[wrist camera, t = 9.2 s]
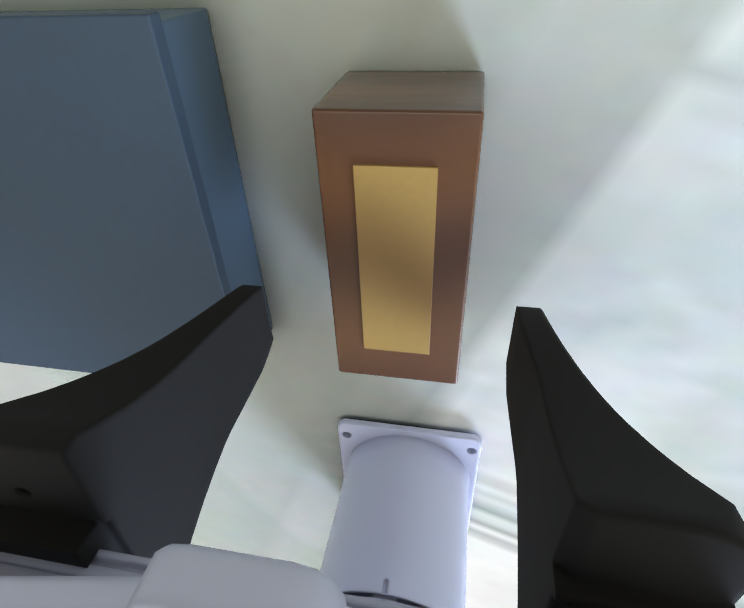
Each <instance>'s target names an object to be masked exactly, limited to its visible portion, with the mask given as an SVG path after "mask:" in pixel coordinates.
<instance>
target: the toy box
mask: <svg viewBox="0 0 744 608" xmlns="http://www.w3.org/2000/svg"><path fill="white" fill-rule="evenodd" d="M241 285H254V286H262V287H263V292H264V297H265V302H266V306H267V311H268V316H269V321H270V326H271V331H272V325H271V320H270V315H269V310H268V305H267V300H266V295H265V291H264V286H263V281H262V276H261V271H260V266H259V261H258V257H257V252H256V247H255V242H254V237H253V232H252V227H251V223H250V218H249V213H248V208H247V203H246V198H245V193H244V189H243V184H242V179H241V174H240V169H239V164H238V159H237V154H236V150H235V145H234V140H233V135H232V130H231V125H230V120H229V116H228V111H227V106H226V101H225V96H224V91H223V86H222V82H221V77H220V72H219V67H218V62H217V57H216V52H215V48H214V43H213V38H212V33H211V28H210V23H209V18H208V14H207V10H206V9H205V8H181V9H128V10H76V11H23V12H0V362H3V363H12V364H20V365H29V366H37V367H46V368H54V369H63V370H71V371H80V372H88V373H94V372H96V371H98V370H101V369H103V368H105V367H107V366H110V365H112V364H114V363H116V362H119V361H121V360H123V359H125V358H127V357H129V356H131V355H133V354H135V353H137V352H139V351H141V350H143V349H144V348H146V347H148V346H150V345H152V344H153V343H155V342H157V341H159V340H160V339H162V338H163V337H165V336H167V335H168V334H170V333H171V332H173V331H175V330H176V329H178V328H179V327H181V326H182V325H184V324H186V323H187V322H189V321H190V320H192V319H193V318H195V317H196V316H197V315H199V314H200V313H202V312H203V311H205V310H206V309H208V308H209V307H211V306H212V305H213V304H215V303H216V302H218V301H219V300H220V299H222V298H223V297H225V296H226V295H228V294H229V293H231V292H232V291H234V290H235V289H237V288H238V287H240V286H241Z"/></svg>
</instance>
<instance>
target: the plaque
mask: <svg viewBox="0 0 744 608" xmlns="http://www.w3.org/2000/svg"><path fill="white" fill-rule="evenodd" d="M312 118H313V127H314V137H315V146H316V156H317V165H318V175H319V184H320V193H321V203H322V212H323V222H324V231H325V240H326V250H327V259H328V269H329V278H330V288H331V297H332V306H333V316H334V325H335V335H336V344H337V353H338V363H339V370H340V371H341V372H350V373H359V374H368V375H378V376H387V377H396V378H406V379H415V380H424V381H434V382H443V383H452V384H456V383H457V380H458V370H459V360H460V350H461V340H462V330H463V320H464V310H465V300H466V290H467V280H468V270H469V260H470V250H471V240H472V230H473V220H474V210H475V200H476V190H477V180H478V170H479V160H480V150H481V140H482V130H483V120H484V72H440V71H348V72H347V73H346V74H345V75H344V76H343V77H342V78H341V79H340V80H339V81H338V82H337V83H336V85H335V86H334V87H333V88H332V89H331V90H330V91H329V92H328V93H327V94H326V95H325V96H324V97H323V98H322V99H321V100H320V101H319V102H318V103H317V105H316V106H315V107H314V108H313V109H312Z"/></svg>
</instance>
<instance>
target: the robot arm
mask: <svg viewBox="0 0 744 608" xmlns="http://www.w3.org/2000/svg"><path fill="white" fill-rule="evenodd" d="M272 342H273V336H272V331H271V326H270V321H269V316H268V311H267V306H266V302H265V297H264V292H263V287H262V286H254V285H241V286H240V287H238V288H237V289H235V290H234V291H232V292H231V293H229V294H228V295H226V296H225V297H223V298H222V299H220V300H219V301H218V302H216V303H215V304H213V305H212V306H211V307H209V308H208V309H206V310H205V311H203V312H202V313H200V314H199V315H197V316H196V317H195V318H193V319H192V320H190V321H189V322H187V323H186V324H184V325H182V326H181V327H179V328H178V329H176V330H175V331H173V332H171V333H170V334H168V335H167V336H165V337H163V338H162V339H160V340H159V341H157V342H155V343H153V344H152V345H150V346H148V347H146V348H144V349H143V350H141V351H139V352H137V353H135V354H133V355H131V356H129V357H127V358H125V359H123V360H121V361H119V362H116V363H114V364H112V365H110V366H107V367H105V368H103V369H101V370H98V371H96V372H94V373H92V374H89V375H87V376H84V377H82V378H79V379H77V380H74V381H71V382H69V383H66V384H63V385H60V386H57V387H55V388H52V389H49V390H46V391H43V392H40V393H37V394H33V395H30V396H26V397H23V398H19V399H16V400H13V401H9V402H6V403H2V404H0V608H465V595H466V560H467V529H468V527H469V521H470V515H471V508H472V502H473V496H474V490H475V484H476V477H477V471H478V465H479V459H480V453H481V446H482V440H481V438H480V437H479V436H477V435H475V434H469V433H461V432H452V431H444V430H436V429H428V428H420V427H412V426H403V425H395V424H387V423H379V422H371V421H363V420H354V419H342V420H340V421H339V425H338V433H339V441H340V449H341V458H342V466H343V475H344V480H343V484H342V488H341V492H340V496H339V500H338V504H337V508H336V512H335V516H334V519H333V523H332V527H331V531H330V535H329V539H328V543H327V547H326V551H325V555H324V559H323V563H322V566H321V570H320V571H319V570H317V569H315V568H311V567H308V566H305V565H301V564H298V563H295V562H290V561H284V560H278V559H272V558H267V557H261V556H255V555H250V554H244V553H238V552H232V551H227V550H221V549H215V548H210V547H204V546H198V545H192V544H190V543H191V539H192V536H193V533H194V530H195V527H196V524H197V520H198V517H199V514H200V511H201V508H202V505H203V502H204V499H205V496H206V494H207V491H208V488H209V485H210V482H211V480H212V477H213V474H214V471H215V469H216V466H217V463H218V461H219V458H220V456H221V453H222V451H223V448H224V445H225V443H226V441H227V439H228V436H229V434H230V432H231V430H232V428H233V426H234V424H235V422H236V420H237V418H238V416H239V415H240V413H241V411H242V409H243V407H244V405H245V403H246V401H247V399H248V397H249V395H250V393H251V392H252V390H253V388H254V386H255V384H256V382H257V380H258V378H259V376H260V374H261V372H262V370H263V368H264V365H265V362H266V359H267V357H268V354H269V351H270V348H271V345H272ZM506 395H507V404H508V412H509V420H510V428H511V436H512V444H513V451H514V459H515V468H516V480H517V523H518V608H735V605H734V604H735V603H736V602H737V601H738V600H739V599H740V598H741V597H742V596H743V595H744V521H743V519H742V518H741V516H740V514H739V513H738V511H737V509H736V507H735V505H734V504H732V503H731V502H729V501H728V500H726V499H725V498H723V497H722V496H720V495H719V494H717V493H716V492H715V491H713V490H712V489H710V488H709V487H707V486H706V485H704V484H703V483H701V482H700V481H698V480H697V479H695V478H694V477H692V476H691V475H690V474H688V473H687V472H686V471H684V470H683V469H682V468H680V467H679V466H678V465H676V464H675V463H674V462H673V461H671V460H670V459H669V458H667V457H666V456H665V455H664V454H662V453H661V452H660V451H659V450H657V449H656V448H655V447H654V446H653V445H651V444H650V443H649V442H648V441H647V440H646V439H645V438H644V437H642V436H641V435H640V434H639V433H638V432H637V431H636V430H635V429H633V428H632V427H631V426H630V425H629V424H628V423H627V422H626V421H625V420H624V419H623V418H622V417H621V416H620V415H619V414H618V413H617V412H616V411H615V410H614V409H613V408H612V407H611V406H610V405H609V404H608V403H607V402H606V400H605V399H604V398H603V397H602V396H601V395H600V394H599V392H598V391H597V390H596V389H595V388H594V386H593V385H592V384H591V383H590V381H589V380H588V379H587V378H586V376H585V375H584V374H583V373H582V371H581V370H580V369H579V367H578V366H577V364H576V363H575V362H574V360H573V359H572V357H571V356H570V354H569V353H568V352H567V350H566V349H565V347H564V346H563V344H562V343H561V341H560V339H559V338H558V336H557V335H556V333H555V331H554V330H553V328H552V326H551V325H550V323H549V321H548V319H547V318H546V316H545V314H544V312H543V311H542V310H541V309H540V308H531V307H518V306H516V312H515V317H514V323H513V329H512V334H511V340H510V345H509V351H508V356H507V362H506Z"/></svg>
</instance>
